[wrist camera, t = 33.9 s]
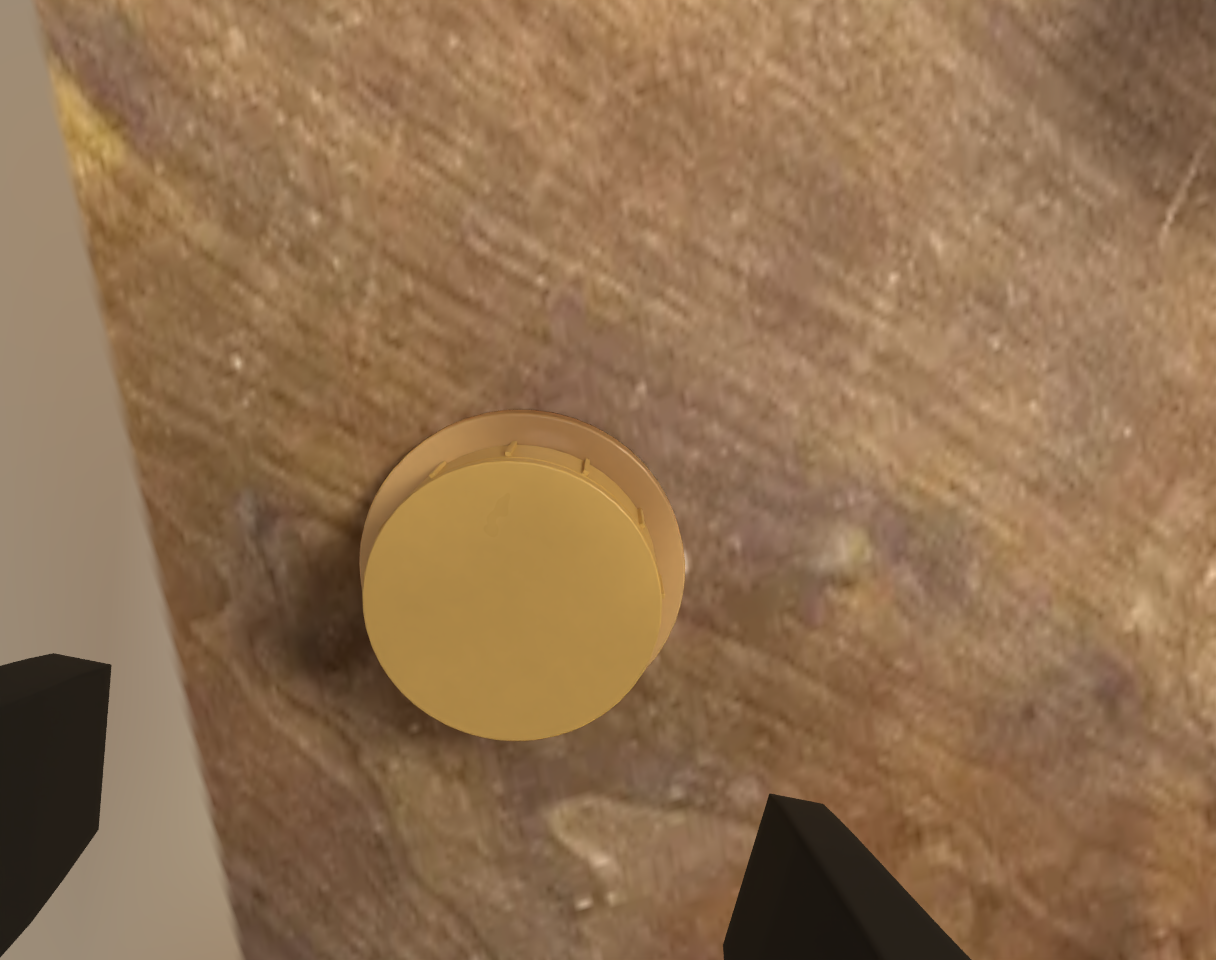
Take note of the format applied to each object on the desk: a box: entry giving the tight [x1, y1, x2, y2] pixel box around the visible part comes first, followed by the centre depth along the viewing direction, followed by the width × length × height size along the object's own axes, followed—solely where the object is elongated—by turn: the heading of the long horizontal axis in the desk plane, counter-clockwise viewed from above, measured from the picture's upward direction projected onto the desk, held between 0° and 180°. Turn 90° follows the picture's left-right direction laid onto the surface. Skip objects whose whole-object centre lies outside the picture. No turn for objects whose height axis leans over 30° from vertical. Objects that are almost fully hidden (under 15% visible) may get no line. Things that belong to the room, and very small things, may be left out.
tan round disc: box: [359, 410, 685, 671], centre depth 17 cm, size 7×7×1 cm
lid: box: [362, 441, 665, 741], centre depth 16 cm, size 6×6×2 cm
